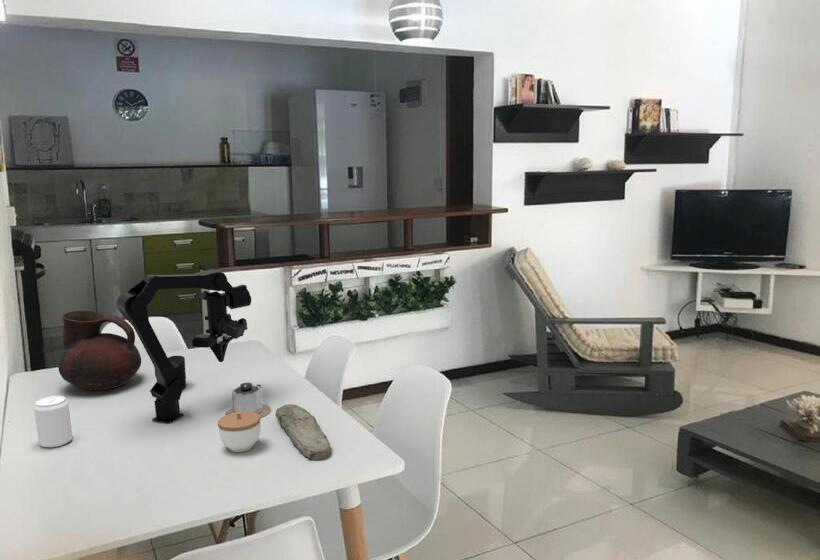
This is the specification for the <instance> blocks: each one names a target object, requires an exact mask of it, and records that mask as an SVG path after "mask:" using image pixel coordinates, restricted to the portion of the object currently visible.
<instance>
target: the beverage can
mask: <svg viewBox="0 0 820 560" xmlns="http://www.w3.org/2000/svg"><path fill="white" fill-rule="evenodd" d="M33 411H34V416H35V418H34V419H35V425H36V432H37V438H38V439H37V440H38V445H39V446H40V447H43V448H57V447H61V446H64V445H66V444H68V443H69V442H71V441H72V439H73V430H72V422H71V412H70V406H69V402H68V400H67V399H66V397H65V396H63V395H52V396H46V397H42V398H40V399H37V401H36V402H35V405H34V408H33Z"/></svg>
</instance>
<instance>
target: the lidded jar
mask: <svg viewBox="0 0 820 560" xmlns="http://www.w3.org/2000/svg"><path fill="white" fill-rule="evenodd" d="M217 426H218V427H217V428H218V433H219V438H220V441H221V442H222V444H223V445H224V446H225V447H226V448H228V449H229V451H230V452H234V453H241V452H242V453H243V452H246V451H250V450H251V449H253V447H254V445H255V444H256V443H257V441H258V440H259V437H260V435H261V434H260V433H261V418H260V416H259V415H258V414H257V413H254V412H235V413H231V414H227V415H225V414H224V415H223V416H221V417H220V418H219V419H218V420H217Z"/></svg>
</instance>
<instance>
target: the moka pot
mask: <svg viewBox="0 0 820 560" xmlns="http://www.w3.org/2000/svg"><path fill="white" fill-rule="evenodd" d="M262 395H263V394H262V385H261V384H260V383H258V384H256V385H253V384H252V390H251V391H248V394H245V392H243V391H241V389H240V386H237V387H235V388H234V389H232V390H231V398H232V407H231V408H229V409H227V410H226V412H225V413H224V416H225V415H227V414H231V413H235V412H254V413H257V414H258V415H259V416H260V419H262V418H265V417H266V416H267V415H269V414H270V413H271V407H270V406H269V405H267V404H264V403H263V396H262Z"/></svg>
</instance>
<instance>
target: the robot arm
mask: <svg viewBox="0 0 820 560" xmlns="http://www.w3.org/2000/svg"><path fill="white" fill-rule="evenodd" d="M195 288H196V289H201V290H203V292H202V293H201V294H200V295H199V296H198V299H200V300H203V301H206V313H207V314H206V315H205V316H204V321H205V320H206V321H207V324H208V328H207V329H205V333H200V334H198V335H195V336H193V337H192V338H191V346H192V347H193V348H194V347H197V348H205V349H207V348H209V349H210V350H211V351H212V353H213V354H214V356H215V358H216V359H217V361H218V362H219V363H222V362H224V360H225V356H226V353H227V349H228V345H229V343H230V342H231V341H232V340H237V339H239V338H240V337H244V334H245V331H247V330H248V322H247V319H246V318H244V317H242V318H240V319H238V320H237V319H234V320H233V319H232V315H231V314H230V313H228V309H227V308H229V309H230V310H235V309H240V308H245V307H249V306H251V304H252V296H251V294H250V291H249V290H248V287H247V285H246V284H240V285H237V286H232V284H231V283H230V282H229V281H228V278H227V276H226V274H225V272H221V271H217V270H214V269H207V270H202V271H199V272H196V273H191V274H187V273H186V274H185V273H184V274H151V273H150V274H147V275H145V276H144V277H143V278H142V279H141V280H140V281H139V282H138V283H136V284H135V285H133V286H132V287H130V288H129V289H128V290H127V291H126V292H124V293H122V294H120V295H118V297H117V299H116V302H115V306H116V309H117V310H118V311H119V312H120V314H121V315H122V316H123V318H124V319H126V321H128V323H130V325H131V327H132V328H133V330H134V332H136V333H135V334H137V336H138V338H139V341H140V342H141V344H142V346H143V348H144V350H145V352H146V354H147V355H148V357H149V359H150V361H151V363H152V364H153V365H152V366H153V367H154V376H155V380H156V382H155V383H154V384H153V386H152V388H151V389H150V390H149V393H150V394H151V396H152V397H153V398H155V400H154V408H155V409H154V410H155V416H154V417H152V418H151V420H152V422H156V423H157V422H158V423H165V424H171V423H173V422H175V421H176V420H178V419H179V418H182V417H183V416H185V415H184V414H185V413H182V412H181V410H180V409H181V408H180V400H181V398H182V397H181V396H182V392H183V391H184V390H185V389H184V387H185V385H186V386H187V380H186V381H185V379H184V378H187V376H185V375H184V374H183V372H182V369H181V367H180V366H179V365H177V364H175V363H173V362H170V361H169V359H168V357H169V356H167V353H166V351H165V350H164V348H163V345H162V344H161V342H160V340H159V339H158V338H159V337H158V336H157V333H156V332H155V330H154V329H153V326H152V325H151V322H150V320H149V319H150V318H149V317H150V315H149V311H148V307H147V305H149V304H150V303H151V302H152V300H153V299H154V297H155V295H156V294H157V292H158V291H159V290H168V289H169V290H172V289H195ZM207 290H208V291H207ZM209 291H211V292H209ZM220 292H221V293H220ZM185 388H186V387H185ZM183 389H184V390H183Z"/></svg>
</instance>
